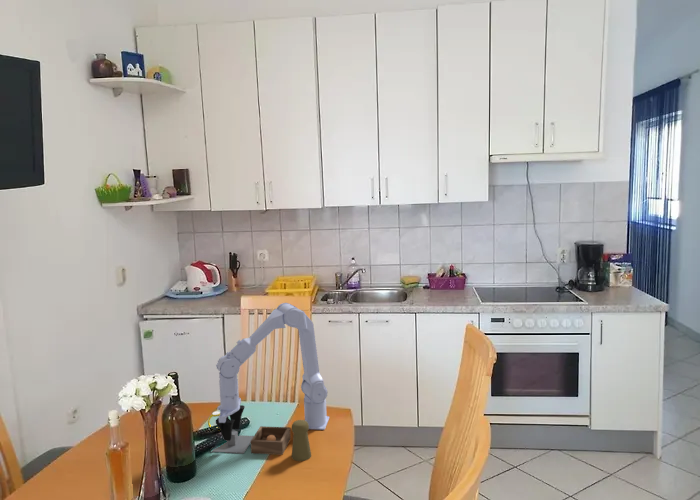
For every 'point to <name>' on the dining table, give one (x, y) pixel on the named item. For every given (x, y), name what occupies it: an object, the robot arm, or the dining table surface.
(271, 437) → the ball
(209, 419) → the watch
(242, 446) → the lid
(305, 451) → the olive tapered shaker
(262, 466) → the dining table surface
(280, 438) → the box
